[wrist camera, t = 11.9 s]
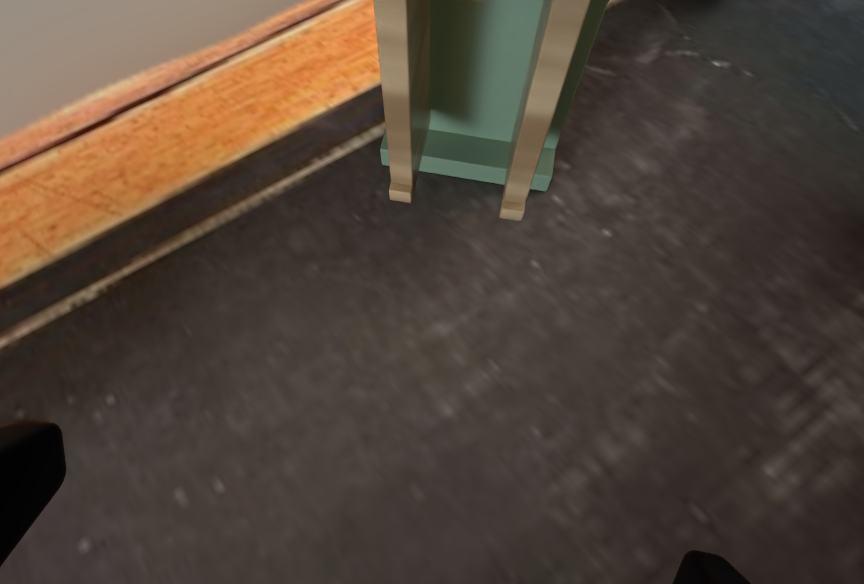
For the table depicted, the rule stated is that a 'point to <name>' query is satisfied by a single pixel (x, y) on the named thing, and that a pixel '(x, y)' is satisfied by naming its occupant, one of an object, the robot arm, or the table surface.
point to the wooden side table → (409, 92)
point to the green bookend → (489, 86)
